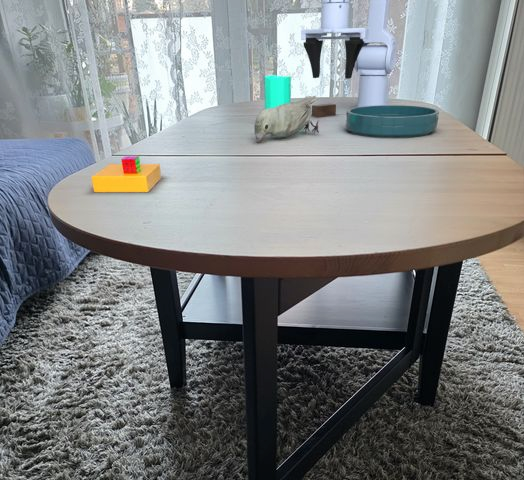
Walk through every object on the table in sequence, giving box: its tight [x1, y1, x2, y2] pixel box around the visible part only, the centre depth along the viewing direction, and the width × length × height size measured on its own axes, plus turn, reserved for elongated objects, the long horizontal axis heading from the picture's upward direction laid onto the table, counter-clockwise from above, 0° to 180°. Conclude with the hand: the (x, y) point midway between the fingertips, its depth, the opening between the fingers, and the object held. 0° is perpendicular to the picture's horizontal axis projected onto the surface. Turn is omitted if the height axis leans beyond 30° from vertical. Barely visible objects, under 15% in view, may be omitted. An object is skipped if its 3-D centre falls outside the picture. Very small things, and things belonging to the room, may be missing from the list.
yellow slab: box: [91, 155, 162, 193], centre depth 75 cm, size 8×8×4 cm
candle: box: [263, 68, 292, 110], centre depth 117 cm, size 6×6×12 cm
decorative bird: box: [254, 95, 320, 144], centre depth 105 cm, size 5×16×7 cm, turn 129°
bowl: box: [345, 104, 440, 139], centre depth 111 cm, size 19×19×4 cm
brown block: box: [311, 103, 337, 118], centre depth 133 cm, size 6×3×3 cm, turn 120°
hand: (331, 78), depth 112 cm, fingers open, 7 cm apart
